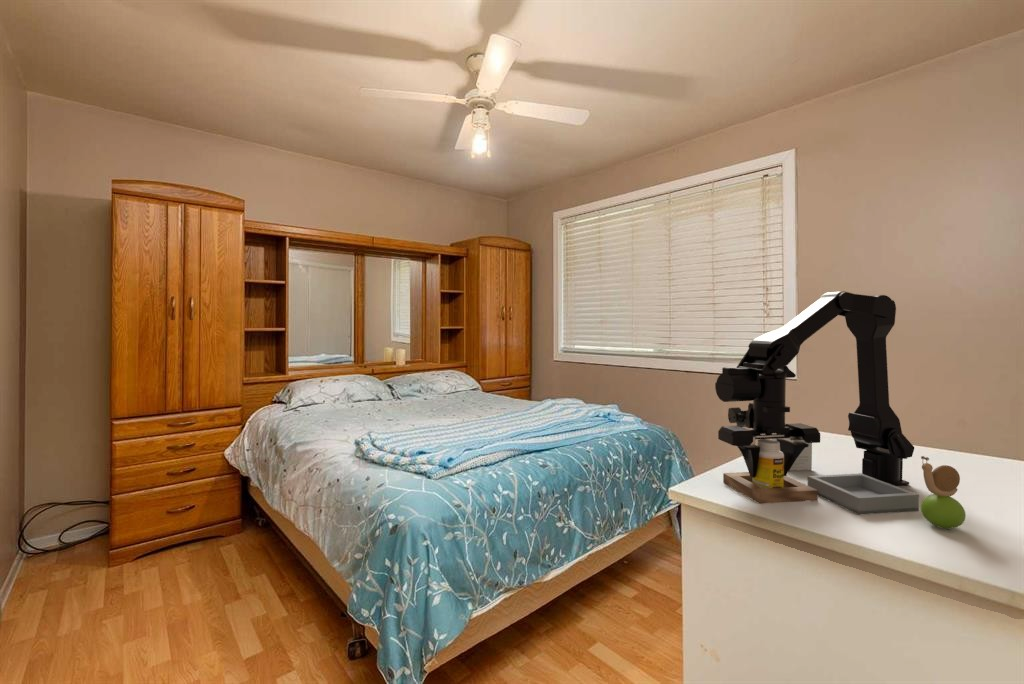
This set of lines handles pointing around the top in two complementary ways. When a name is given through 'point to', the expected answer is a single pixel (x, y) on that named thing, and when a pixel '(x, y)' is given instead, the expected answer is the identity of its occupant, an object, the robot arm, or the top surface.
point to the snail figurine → (942, 496)
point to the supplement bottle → (770, 465)
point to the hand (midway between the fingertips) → (768, 476)
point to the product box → (803, 459)
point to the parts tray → (864, 494)
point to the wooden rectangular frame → (770, 489)
